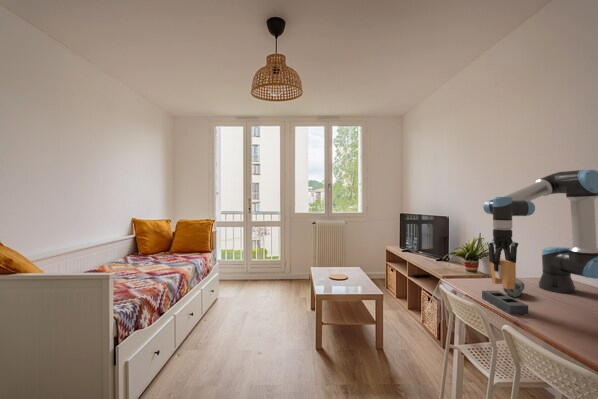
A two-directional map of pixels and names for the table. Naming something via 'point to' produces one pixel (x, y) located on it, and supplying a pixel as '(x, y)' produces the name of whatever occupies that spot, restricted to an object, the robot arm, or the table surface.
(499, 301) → the cinder block
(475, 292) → the table surface
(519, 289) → the spool
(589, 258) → the robot arm
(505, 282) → the wooden arch block
